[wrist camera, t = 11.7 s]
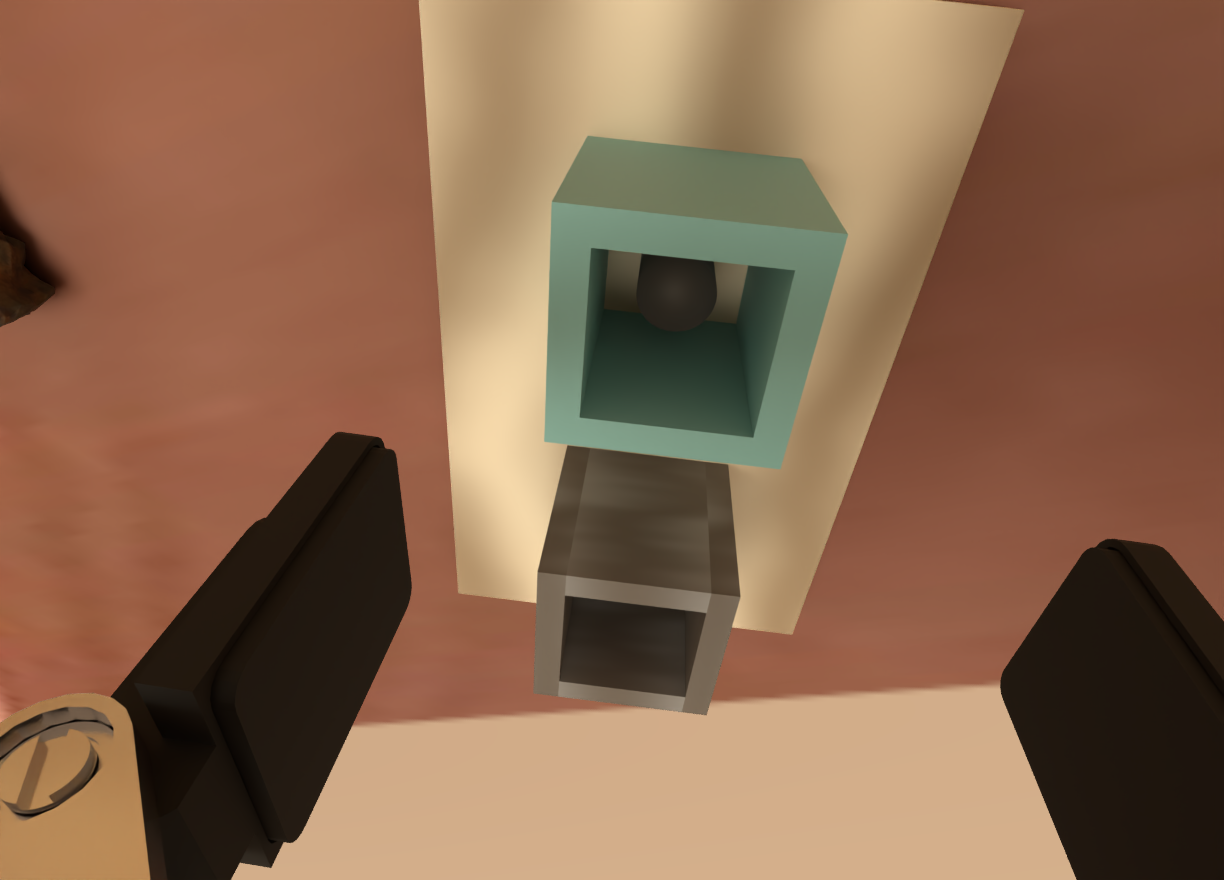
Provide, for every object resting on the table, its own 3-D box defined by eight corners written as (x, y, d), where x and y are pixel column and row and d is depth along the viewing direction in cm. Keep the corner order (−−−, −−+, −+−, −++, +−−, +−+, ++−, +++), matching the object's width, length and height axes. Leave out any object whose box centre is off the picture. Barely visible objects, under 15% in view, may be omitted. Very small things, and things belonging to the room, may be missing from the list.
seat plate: (1004, 6, 16) (1184, 31, 10) (788, 611, 29) (815, 775, 23) (430, -55, 17) (294, -64, 11) (465, 572, 29) (411, 724, 24)
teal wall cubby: (801, 158, 18) (848, 234, 13) (757, 350, 21) (780, 469, 16) (587, 135, 18) (551, 201, 13) (576, 329, 21) (544, 441, 16)
